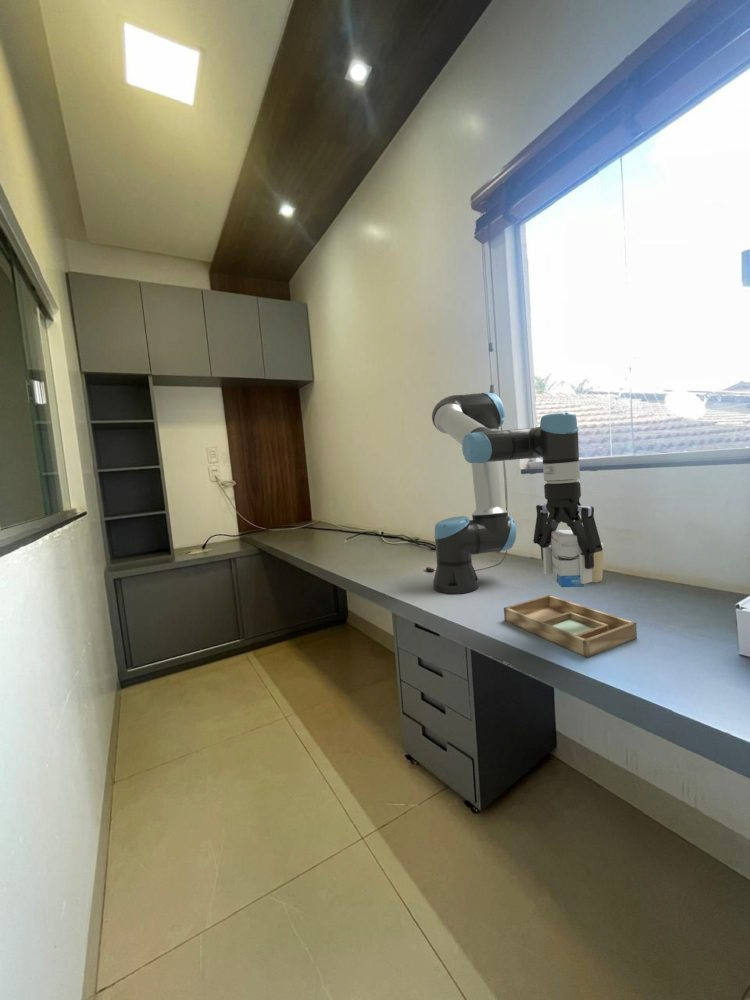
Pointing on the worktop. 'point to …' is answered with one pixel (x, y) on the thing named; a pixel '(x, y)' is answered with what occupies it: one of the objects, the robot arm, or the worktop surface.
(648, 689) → the worktop surface
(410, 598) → the worktop surface
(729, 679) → the worktop surface
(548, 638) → the walled box
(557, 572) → the ink box
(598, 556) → the coffee cup
